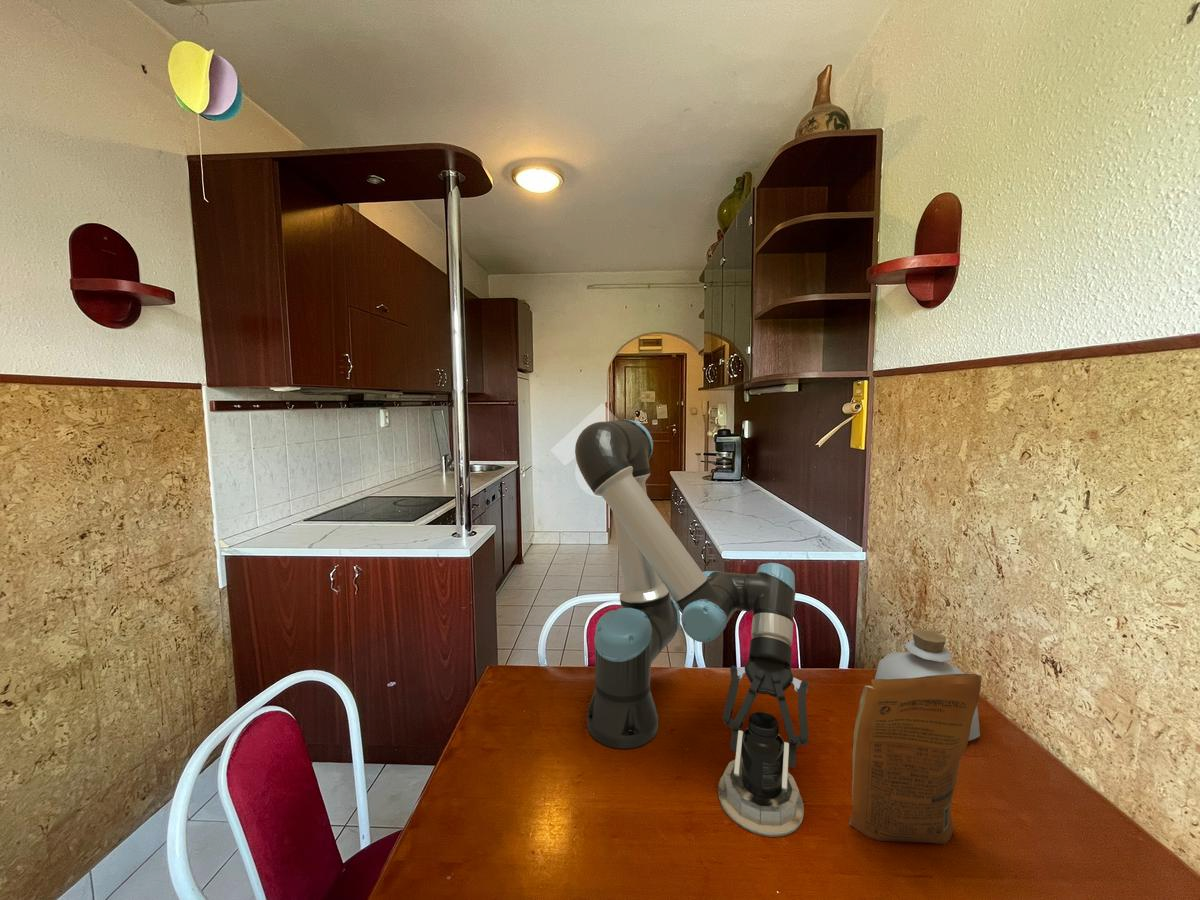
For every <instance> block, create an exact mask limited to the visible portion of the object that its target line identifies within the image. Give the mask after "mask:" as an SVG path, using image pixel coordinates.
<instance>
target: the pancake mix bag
mask: <svg viewBox="0 0 1200 900" xmlns="http://www.w3.org/2000/svg"><path fill="white" fill-rule="evenodd" d="M982 676H983V675H980V674H978V673H966V674H945V675H933V676H925V677H917V678H900V679H875V678H873V679H871V685H864V686H863V689H862V692H861V695H860V699H859V705H858V706H859V707H858V712H857V715H856V719H855V725H854V728H853V729H854V731H853V746H852V783H851V804H852V805H851V806H852V811H851V814H850V817H849V818H850V819H849V823H848V825H849V826H851V827H852V828H854V829H855V830H857V831H858V832H860V833H861V834H863V835H864V836H866V837H867V838H869V839H870V838H871V839H873V840H876V841H879V842H897V843H898V842H902V843H927V844H937V845H946V844H947V843H948V842H950V840H951V839H952V835H953V831H954V824H953V823H954V822H953V817H952V809H951V808H952V804H953V803H952V800H953V797H954V796H953V795H954V793H955V789H956V786H957V784H958V777H959V769H960V761H961V758H962V757H963V755H964V752H965V750H966V748H967V746H968V743H969V741H968V740H969V734H970V729H971V724H972V719H973V715H974V712H975V710H976V707H977V708H978V703H979V699H980V693H981V689H982V679H983V677H982Z"/></svg>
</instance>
